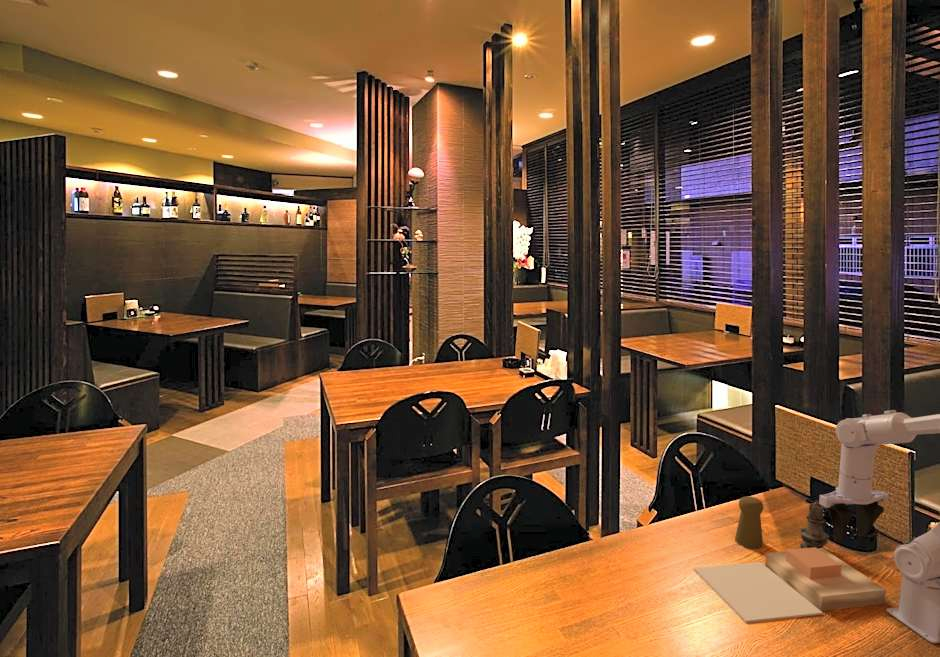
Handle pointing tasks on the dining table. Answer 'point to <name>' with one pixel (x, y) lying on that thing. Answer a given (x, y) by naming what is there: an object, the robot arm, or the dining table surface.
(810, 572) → the coaster
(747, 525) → the cork
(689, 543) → the dining table surface
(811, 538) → the dark chess piece
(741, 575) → the mat
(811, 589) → the serving board
